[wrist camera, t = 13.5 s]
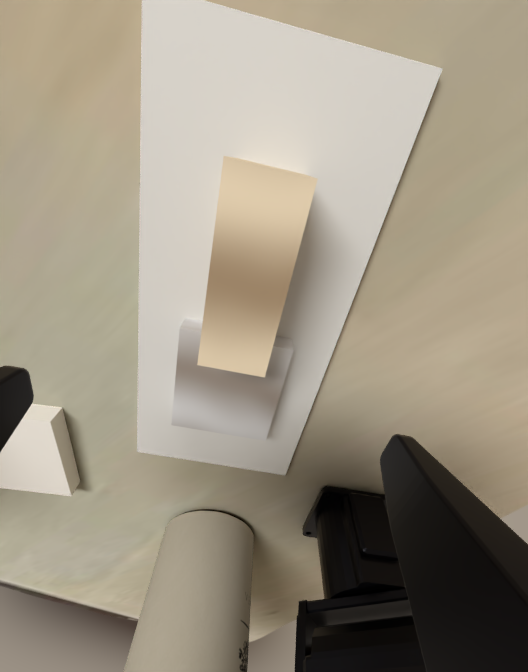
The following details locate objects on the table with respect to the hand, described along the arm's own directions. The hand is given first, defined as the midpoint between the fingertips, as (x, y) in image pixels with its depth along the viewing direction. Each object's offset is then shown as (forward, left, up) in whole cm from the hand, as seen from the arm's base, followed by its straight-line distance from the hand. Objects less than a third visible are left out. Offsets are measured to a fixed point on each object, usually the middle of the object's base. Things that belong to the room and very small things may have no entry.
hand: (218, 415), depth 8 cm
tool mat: (-2, 0, -10) cm, 10 cm away
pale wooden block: (-2, 0, -9) cm, 10 cm away
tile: (-12, +14, -9) cm, 21 cm away
